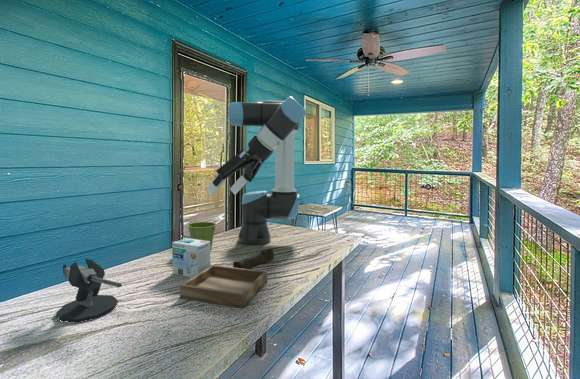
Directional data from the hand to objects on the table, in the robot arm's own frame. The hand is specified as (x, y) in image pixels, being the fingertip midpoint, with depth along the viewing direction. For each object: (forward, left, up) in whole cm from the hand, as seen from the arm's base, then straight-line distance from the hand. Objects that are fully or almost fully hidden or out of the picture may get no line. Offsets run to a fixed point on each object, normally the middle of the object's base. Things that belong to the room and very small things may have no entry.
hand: (221, 192), depth 94 cm
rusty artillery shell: (-12, +6, -28) cm, 31 cm away
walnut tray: (+10, +7, -27) cm, 30 cm away
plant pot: (-20, -20, -28) cm, 40 cm away
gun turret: (+31, -17, -28) cm, 45 cm away
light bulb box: (+2, -10, -28) cm, 30 cm away
